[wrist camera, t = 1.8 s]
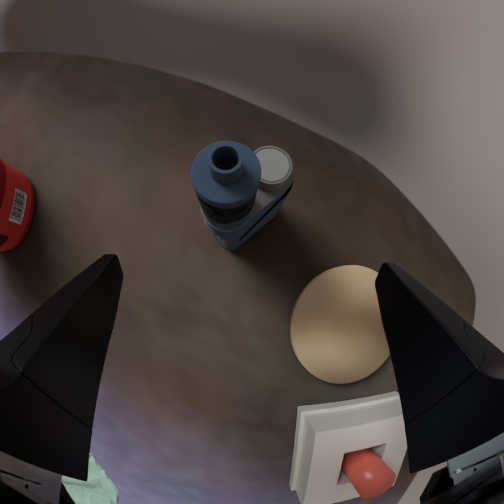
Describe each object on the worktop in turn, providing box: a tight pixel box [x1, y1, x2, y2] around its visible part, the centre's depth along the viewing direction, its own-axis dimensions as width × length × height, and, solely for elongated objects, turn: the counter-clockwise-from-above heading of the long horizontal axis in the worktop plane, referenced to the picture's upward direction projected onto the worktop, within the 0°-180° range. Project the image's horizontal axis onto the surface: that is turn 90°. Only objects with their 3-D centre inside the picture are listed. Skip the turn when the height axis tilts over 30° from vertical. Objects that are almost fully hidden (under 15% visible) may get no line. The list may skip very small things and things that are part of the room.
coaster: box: [289, 265, 390, 384], centre depth 19 cm, size 9×9×1 cm
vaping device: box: [191, 141, 293, 251], centre depth 14 cm, size 3×5×12 cm, turn 131°
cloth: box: [61, 453, 119, 504], centre depth 15 cm, size 20×22×2 cm
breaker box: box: [289, 391, 407, 504], centre depth 16 cm, size 9×9×4 cm
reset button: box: [341, 448, 396, 499], centre depth 13 cm, size 3×3×4 cm
